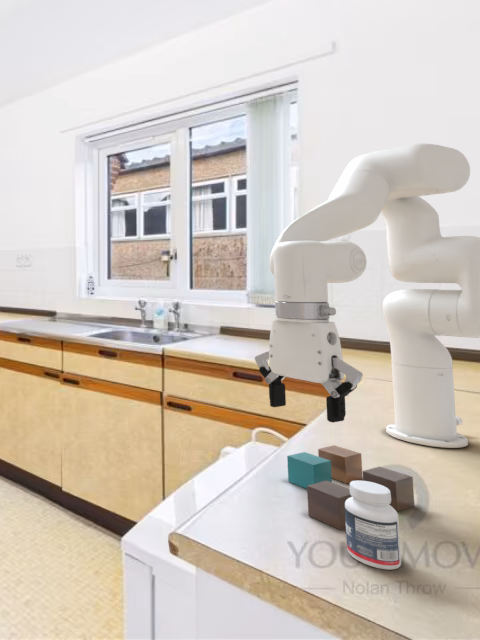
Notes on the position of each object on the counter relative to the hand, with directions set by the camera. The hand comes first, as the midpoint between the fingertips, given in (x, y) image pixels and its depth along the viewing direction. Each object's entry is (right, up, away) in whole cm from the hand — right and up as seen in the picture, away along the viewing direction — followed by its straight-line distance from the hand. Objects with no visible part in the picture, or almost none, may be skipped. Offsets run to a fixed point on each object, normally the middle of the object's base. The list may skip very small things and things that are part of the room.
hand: (305, 413), depth 82 cm
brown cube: (-4, -12, -12) cm, 17 cm away
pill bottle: (-6, -12, -21) cm, 25 cm away
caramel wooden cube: (+8, -12, +2) cm, 15 cm away
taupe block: (+8, -12, -7) cm, 16 cm away
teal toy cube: (0, -12, 0) cm, 12 cm away
